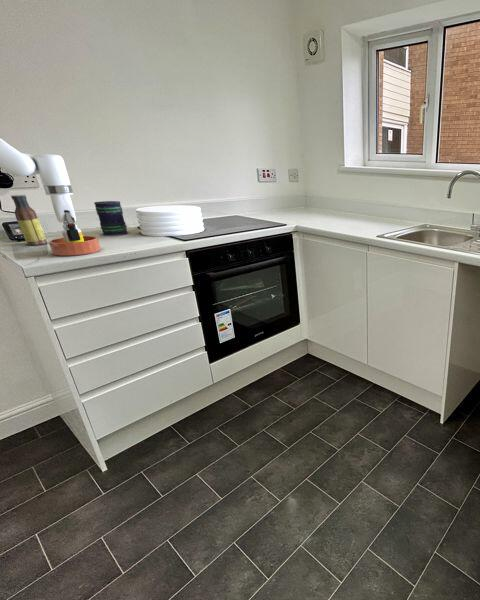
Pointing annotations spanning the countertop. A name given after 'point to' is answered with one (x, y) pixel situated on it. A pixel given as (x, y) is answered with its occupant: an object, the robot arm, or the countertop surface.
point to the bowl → (75, 246)
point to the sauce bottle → (28, 221)
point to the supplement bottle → (67, 235)
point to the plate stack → (170, 220)
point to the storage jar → (111, 218)
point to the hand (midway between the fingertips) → (73, 238)
